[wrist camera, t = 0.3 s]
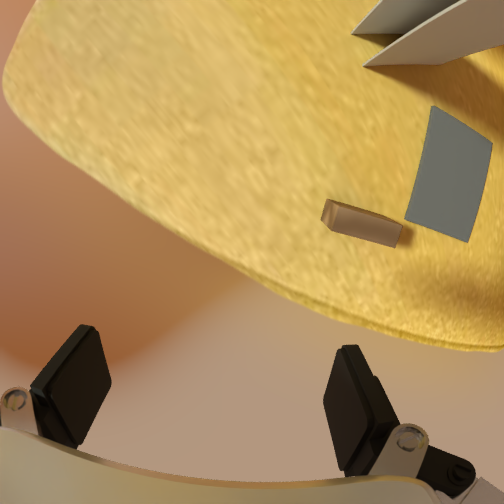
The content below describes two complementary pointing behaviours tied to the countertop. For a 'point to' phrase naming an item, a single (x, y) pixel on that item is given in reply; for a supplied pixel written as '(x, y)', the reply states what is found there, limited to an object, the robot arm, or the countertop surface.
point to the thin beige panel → (433, 29)
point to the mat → (449, 177)
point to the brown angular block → (360, 223)
